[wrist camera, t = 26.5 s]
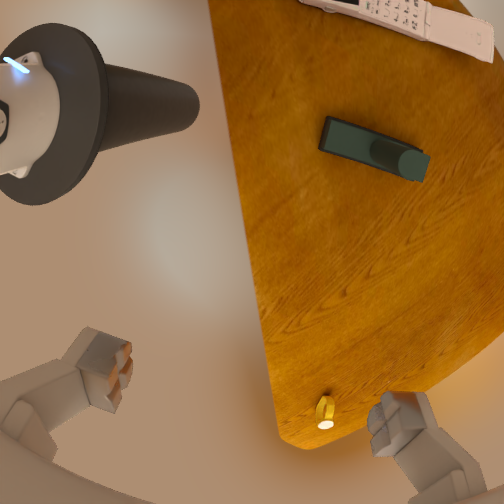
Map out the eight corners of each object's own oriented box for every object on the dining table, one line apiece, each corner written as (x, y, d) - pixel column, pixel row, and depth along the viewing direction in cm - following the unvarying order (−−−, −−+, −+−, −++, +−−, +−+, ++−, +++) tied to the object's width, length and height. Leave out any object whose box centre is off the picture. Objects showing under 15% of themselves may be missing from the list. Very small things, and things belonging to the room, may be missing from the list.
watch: (324, 409, 52) (326, 434, 47) (310, 408, 52) (312, 433, 47) (336, 391, 50) (339, 417, 44) (322, 389, 50) (324, 416, 44)
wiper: (317, 148, 33) (338, 165, 22) (326, 115, 31) (351, 116, 20) (408, 178, 33) (457, 208, 22) (417, 148, 31) (471, 167, 21)
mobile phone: (494, 66, 20) (278, -16, 20) (468, 69, 26) (278, 3, 25) (495, 25, 18) (287, -57, 17) (470, 32, 23) (286, -34, 23)
